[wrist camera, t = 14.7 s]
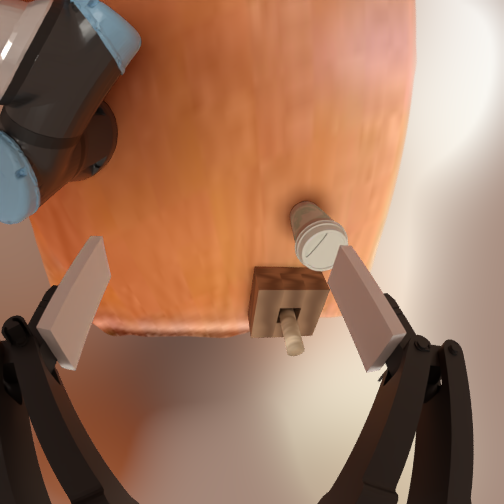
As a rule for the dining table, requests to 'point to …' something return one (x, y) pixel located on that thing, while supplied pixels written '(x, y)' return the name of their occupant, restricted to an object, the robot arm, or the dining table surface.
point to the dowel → (291, 332)
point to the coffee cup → (316, 236)
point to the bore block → (285, 299)
